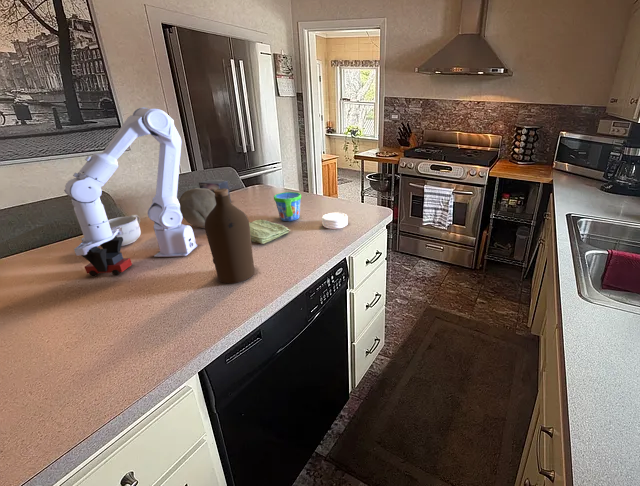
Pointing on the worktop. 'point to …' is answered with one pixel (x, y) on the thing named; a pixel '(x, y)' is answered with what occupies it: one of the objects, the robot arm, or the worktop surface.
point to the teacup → (127, 228)
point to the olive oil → (229, 240)
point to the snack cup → (288, 205)
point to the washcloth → (266, 231)
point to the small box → (214, 185)
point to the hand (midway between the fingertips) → (109, 266)
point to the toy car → (111, 264)
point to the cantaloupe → (197, 205)
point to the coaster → (334, 220)
